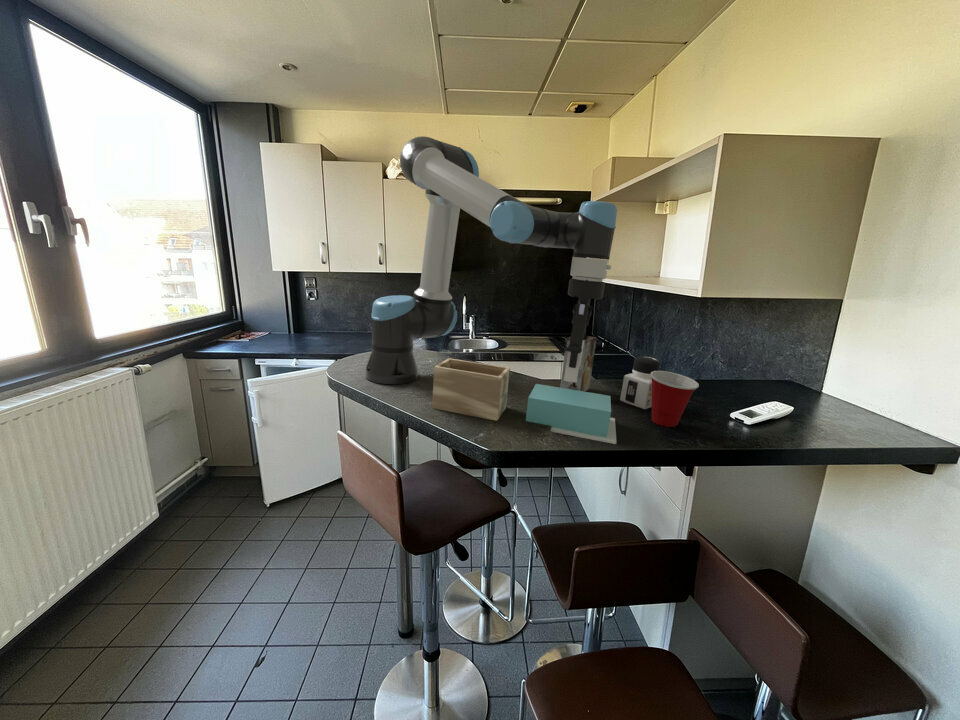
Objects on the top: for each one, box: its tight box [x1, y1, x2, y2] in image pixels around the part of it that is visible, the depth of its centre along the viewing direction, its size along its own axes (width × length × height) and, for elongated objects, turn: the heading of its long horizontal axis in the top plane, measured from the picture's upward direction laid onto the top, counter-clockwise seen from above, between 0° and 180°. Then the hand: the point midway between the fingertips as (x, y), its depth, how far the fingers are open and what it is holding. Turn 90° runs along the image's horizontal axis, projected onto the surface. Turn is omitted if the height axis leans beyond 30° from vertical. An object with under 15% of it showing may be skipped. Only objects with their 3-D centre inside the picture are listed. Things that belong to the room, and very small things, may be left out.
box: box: [431, 357, 511, 422], centre depth 95 cm, size 9×16×11 cm, turn 73°
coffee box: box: [559, 335, 598, 392], centre depth 116 cm, size 9×6×16 cm
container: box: [619, 356, 661, 410], centre depth 109 cm, size 8×8×13 cm
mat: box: [549, 417, 617, 445], centre depth 93 cm, size 14×22×1 cm, turn 73°
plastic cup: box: [650, 370, 700, 428], centre depth 96 cm, size 11×11×12 cm
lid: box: [525, 383, 612, 437], centre depth 93 cm, size 11×18×6 cm, turn 73°
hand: (572, 372), depth 91 cm, fingers open, 13 cm apart
